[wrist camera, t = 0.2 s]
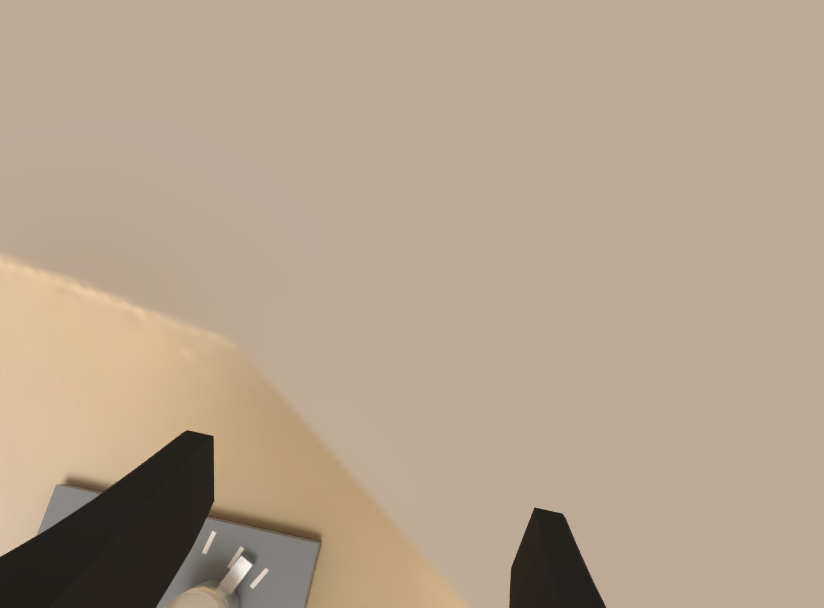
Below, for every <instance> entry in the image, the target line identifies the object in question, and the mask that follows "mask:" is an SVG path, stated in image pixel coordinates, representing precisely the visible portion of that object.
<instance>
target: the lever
mask: <svg viewBox="0 0 824 608" xmlns="http://www.w3.org/2000/svg"><path fill="white" fill-rule="evenodd" d="M254 565H255V563H254V562H253V561H252V560H251V559H250V558H248V557H247V556H246V555H245V554H243V555H241V556H240V558H239V559H238V560H237V562H236V563H235V564H234V566H233V567H232V568H231V570H230V571H229V572H228V574H227V575H226V576H225V578H224V579H223V580H222V581H221V580H208V581H205V582H203V583H201V584H199V585H197V586H195V587H193V588H191V589H190V590H188V591H186V592H184V593H182V594H180V595H178V596H176V597H174V598H173V599H172V600H170V601H169V602H168V603H167V604H166V605H165V607H164V608H239V600H238V596H237V594H236V592H235V590H236V589H237V588H238V586H239V585H240V583H241V582H242V581H243V579H244V578H245V577H246V575H247V574H248V573H249V571H250V570H251V569H252V567H253V566H254Z"/></svg>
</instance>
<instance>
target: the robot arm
mask: <svg viewBox="0 0 824 608" xmlns="http://www.w3.org/2000/svg"><path fill="white" fill-rule="evenodd" d="M213 502H214V439H213V436H211V435H206V434H202V433H197V432H193V431H188V430H187V431H185V432H183V433H182V434H181V435H179V436H178V437H177V438H175V439H174V440H173V441H171V442H170V443H169V444H167V445H166V446H165V447H164V448H162V449H161V450H160V451H158V452H157V453H156V454H154V455H153V456H152V457H150V458H149V459H148V460H147V461H145V462H144V463H143V464H141V465H140V466H139V467H137V468H136V469H134V470H133V471H132V472H130V473H129V474H128V475H126V476H125V477H124V478H122V479H121V480H119V481H118V482H117V483H115V484H114V485H112V486H111V487H110V488H108V489H107V490H105V491H104V492H103V493H101V494H100V495H98V496H97V497H96V498H94V499H93V500H91V501H90V502H88V503H87V504H85V505H84V506H82V507H81V508H79V509H78V510H76V511H75V512H73V513H72V514H70V515H68V516H67V517H65V518H64V519H62V520H61V521H59V522H58V523H56V524H55V525H53V526H52V527H50V528H48V529H47V530H45V531H44V532H42V533H40V534H39V535H37V536H35V537H34V538H32V539H30V540H29V541H27V542H25V543H24V544H22V545H20V546H19V547H17V548H15V549H13V550H12V551H10V552H8V553H6V554H5V555H3V556H1V557H0V608H156V607H157V605H158V604H159V602H160V600H161V599H162V597H163V595H164V594H165V592H166V591H167V589H168V587H169V586H170V584H171V582H172V581H173V579H174V577H175V576H176V574H177V572H178V571H179V569H180V567H181V566H182V564H183V562H184V561H185V559H186V557H187V556H188V554H189V552H190V551H191V549H192V547H193V545H194V544H195V541H196V539H197V537H198V535H199V533H200V531H201V529H202V527H203V525H204V522H205V520H206V518H207V516H208V513H209V511H210V509H211V507H212V504H213ZM509 607H510V608H606V606H605V604H604V602H603V600H602V598H601V596H600V594H599V592H598V590H597V588H596V586H595V584H594V582H593V580H592V578H591V575H590V573H589V571H588V569H587V567H586V564H585V562H584V560H583V558H582V556H581V553H580V551H579V549H578V546H577V544H576V542H575V540H574V537H573V535H572V533H571V530H570V528H569V525H568V523H567V520H566V518H565V517H564V515H563V514H561V513H557V512H552V511H548V510H543V509H539V508H534V510H533V513H532V516H531V518H530V521H529V523H528V526H527V528H526V531H525V534H524V536H523V539H522V541H521V544H520V547H519V549H518V552H517V554H516V557H515V560H514V563H513V565H512V567H511V581H510V605H509Z"/></svg>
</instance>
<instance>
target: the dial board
mask: <svg viewBox="0 0 824 608" xmlns="http://www.w3.org/2000/svg"><path fill="white" fill-rule="evenodd" d="M101 493H103V492H99V491H95V490H91V489H86V488H82V487H77V486H73V485H68V484H60V485H56V487H55V489H54V492H53V495H52V497H51V500H50V502H49V505H48V507H47V510H46V513H45V515H44V518H43V520H42V523H41V526H40V528H39V531H38V533H37V535H39V534H40V533H42V532H44V531H45V530H47V529H48V528H50V527H52V526H53V525H55V524H56V523H58V522H59V521H61V520H62V519H64V518H65V517H67V516H68V515H70V514H72V513H73V512H75V511H76V510H78V509H79V508H81V507H82V506H84V505H85V504H87V503H88V502H90V501H91V500H93V499H94V498H96V497H97V496H98V495H100V494H101ZM320 546H321V541H317V540H312V539H308V538H303V537H299V536H294V535H290V534H286V533H281V532H277V531H272V530H268V529H263V528H259V527H255V526H250V525H246V524H241V523H237V522H232V521H228V520H224V519H219V518H215V517H210V516H207V518H206V520H205V522H204V525H203V527H202V529H201V531H200V533H199V535H198V537H197V539H196V541H195V544H194V545H193V547H192V549H191V551H190V552H189V554H188V556H187V557H186V559H185V561H184V562H183V564H182V566H181V567H180V569H179V571H178V572H177V574H176V576H175V577H174V579H173V581H172V582H171V584H170V586H169V587H168V589H167V591H166V592H165V594H164V595H163V597H162V599H161V600H160V602H159V604H158V605H157V607H156V608H164V607H165V605H166V604H167V603H168V602H169V601H170V600H172V599H173V598H174V597H176V596H178V595H180V594H182V593H184V592H186V591H188V590H190V589H191V588H193V587H195V586H197V585H199V584H201V583H203V582H205V581H208V580H221V581H222V580H223V579H224V578H225V576H226V575H227V574H228V572H229V571H230V570H231V568H232V567H233V566H234V564H235V563H236V562H237V560H238V559H239V558H240V556H241V555H243V554H245V555H246V556H247V557H248V558H250V559H251V560H252V561H253V562H254V563H255V565H254V566H253V567H252V569H251V570H250V571H249V573H248V574H247V575H246V577H245V578H244V579H243V581H242V582H241V583H240V585H239V586H238V588H237V589H236V590H235V592H236V594H237V596H238V600H239V608H306V604H307V600H308V596H309V592H310V587H311V583H312V579H313V575H314V571H315V567H316V562H317V558H318V554H319V550H320Z"/></svg>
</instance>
